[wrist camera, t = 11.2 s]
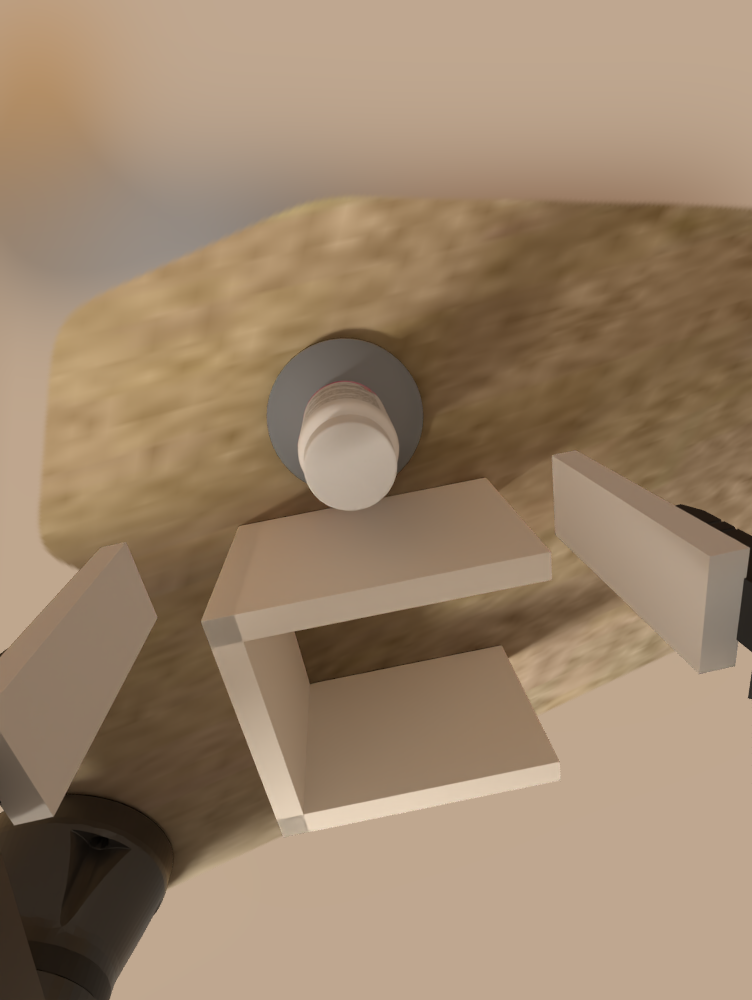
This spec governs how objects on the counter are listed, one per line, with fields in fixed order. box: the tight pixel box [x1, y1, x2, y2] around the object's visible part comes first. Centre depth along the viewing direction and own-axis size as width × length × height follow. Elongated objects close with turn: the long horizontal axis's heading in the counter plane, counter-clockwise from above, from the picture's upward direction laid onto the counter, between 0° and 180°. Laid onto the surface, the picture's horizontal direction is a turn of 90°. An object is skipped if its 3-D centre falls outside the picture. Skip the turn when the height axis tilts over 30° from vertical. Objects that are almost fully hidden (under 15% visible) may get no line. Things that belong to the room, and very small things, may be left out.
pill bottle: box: [298, 381, 399, 511], centre depth 25 cm, size 5×5×8 cm
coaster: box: [267, 338, 423, 483], centre depth 29 cm, size 9×9×1 cm
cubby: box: [201, 478, 560, 837], centre depth 30 cm, size 16×15×10 cm
